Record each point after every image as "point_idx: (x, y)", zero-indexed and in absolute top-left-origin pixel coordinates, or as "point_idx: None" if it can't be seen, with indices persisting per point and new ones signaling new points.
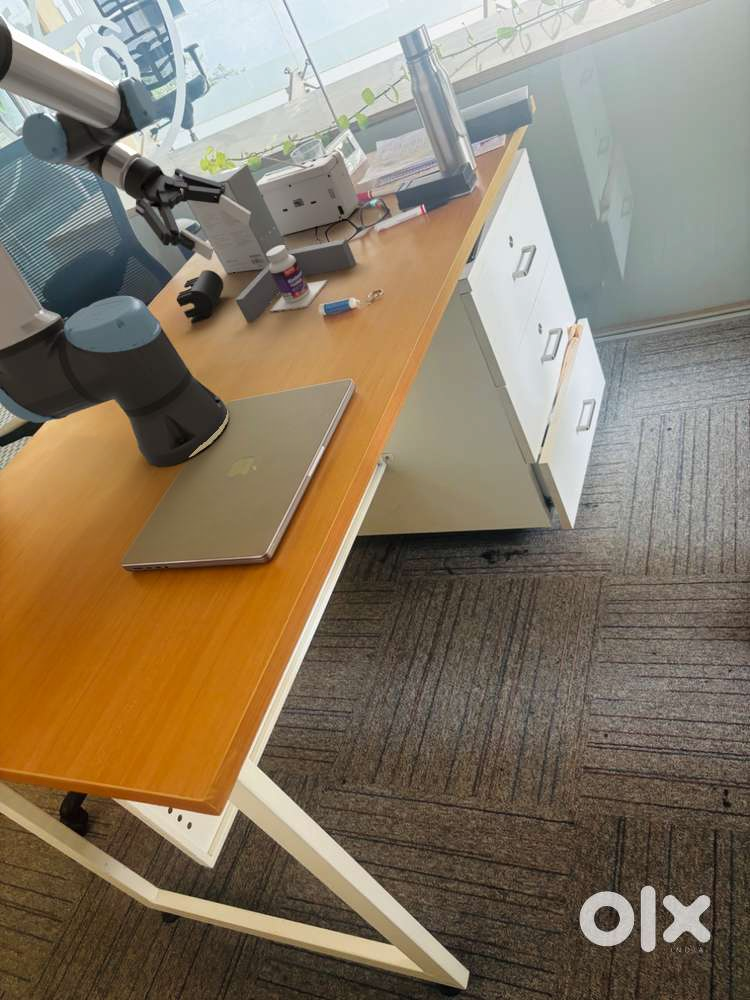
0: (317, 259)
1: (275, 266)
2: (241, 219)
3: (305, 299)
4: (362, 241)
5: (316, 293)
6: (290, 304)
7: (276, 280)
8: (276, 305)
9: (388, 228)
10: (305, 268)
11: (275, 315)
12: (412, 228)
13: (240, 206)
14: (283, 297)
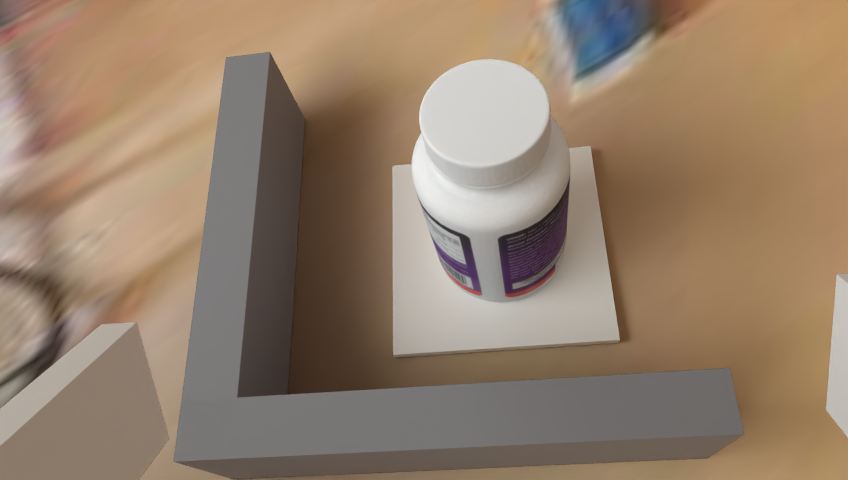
0: (276, 216)
1: (553, 140)
2: (132, 454)
3: None
4: (84, 192)
5: None
6: (573, 240)
7: (566, 204)
8: (572, 327)
9: (33, 124)
10: (280, 313)
11: (645, 293)
12: (98, 22)
13: (38, 385)
14: (558, 263)
